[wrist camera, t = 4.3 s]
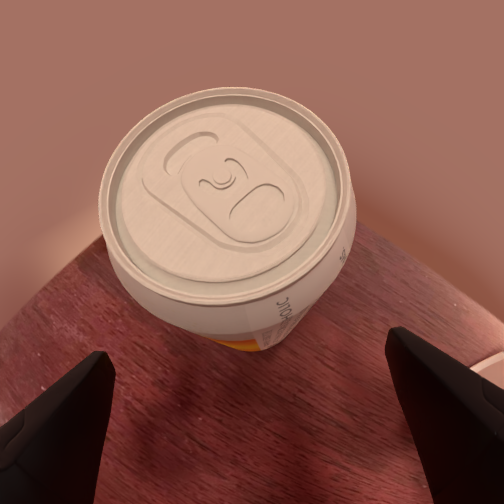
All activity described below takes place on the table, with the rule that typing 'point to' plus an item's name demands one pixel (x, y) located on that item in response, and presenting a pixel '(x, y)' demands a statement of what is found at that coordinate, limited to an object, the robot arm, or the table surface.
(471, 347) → the table surface
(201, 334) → the beer can
